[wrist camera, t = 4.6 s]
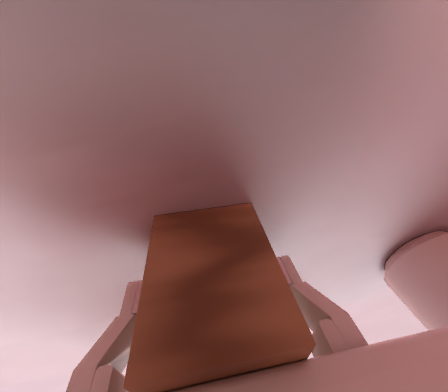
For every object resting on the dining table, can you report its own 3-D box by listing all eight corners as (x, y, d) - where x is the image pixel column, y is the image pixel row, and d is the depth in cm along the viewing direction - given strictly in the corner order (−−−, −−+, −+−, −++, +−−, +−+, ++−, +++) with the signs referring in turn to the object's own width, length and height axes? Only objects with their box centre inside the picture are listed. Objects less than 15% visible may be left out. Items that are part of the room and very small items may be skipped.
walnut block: (251, 202, 11) (316, 344, 6) (248, 261, 15) (288, 388, 9) (154, 215, 11) (123, 387, 5) (173, 273, 14) (166, 418, 8)
